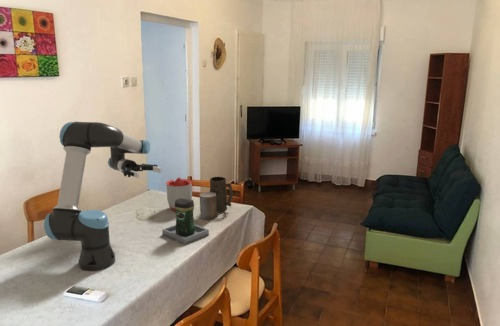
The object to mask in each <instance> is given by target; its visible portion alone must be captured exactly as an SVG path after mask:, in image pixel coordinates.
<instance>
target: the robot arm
mask: <svg viewBox="0 0 500 326" xmlns="http://www.w3.org/2000/svg"><path fill="white" fill-rule="evenodd" d="M59 142H60V144H61V146H63V147H62V149H63V150H64V151H65V158H64V163H63V164H64V165H63V170H62V175H61V182H60V188H59V194H58V199H57V204H56V205H55V206H54V207H53V208H52V212H49V213H48V214H47V215H46V216H45V219H44V221H43V222H44V223H43V228H44V233H45V234H46V236H47V237H48V238H49V239H51V240H57V241H71V242H72V241H73V242H74V241H75V242H81V245H80V246H81V250H80V254H79V258H78V266H79V268H80V269H81V270H84V271H88V272H89V271H92V272H93V271H100V270H104V269H107V268H108V267H110V266H112V265H113V264H114V263H115V262H116V255H115V252H114V250H113V248H112V246H111V244H110V243H111V240H110V230H109V229H110V227H109V218H108V215H107V213H105V212H104V211H102V210H98V209H90V210H89V209H86V210H81V208H80V207H79V204H80V198H81V193H82V192H81V191H82V186H83V180H84V174H85V167H86V159H87V155H89V154H90V153H91V151H92V148H110V157H109V158H108V161H107V164H108V165H107V166H109V168H110V169H113V170H115V171H118V172H121V173H122V174H123V176H124V177H127V178H131V177H134V178H137V179H140V172H144V171H153V172H154V173H158V174H162V168H161V167H159V166H158V164H155V163H153V164H148V163H141V164H139V163H138V164H137V162H136V161H135V160H131V159H127V158H125V157H126V154H137V155H138V154H139V155H140V154H141V155H145V154H146V155H147V154H149V153H150V150H151V143H150V141H149V140H144V139H142V140H141V139H138V138H135V137H133V136H131V135H128V134H126V133H124V132H123V131H122V130H121V129H119V128H118V127H114V126H113V125H109V124H107V123H103V122H98V121H96V122H95V121H94V122H93V121H70V122H69V121H68V122H66V123H65V124H63V126H62V127H61V129H60V132H59Z"/></svg>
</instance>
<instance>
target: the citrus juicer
mask: <svg viewBox="0 0 500 326" xmlns="http://www.w3.org/2000/svg"><path fill="white" fill-rule="evenodd" d="M192 183H193V182H192V180H190V179H186V178H181V177H177V178H176V179H175V180H174V179H170V180H169V181H166V182H165V184H166V197H167V198H166V200H167V203H168V207H169V208H170V211H173V212H176V210H175V201H176V200H177V199H179V198H182V199H189V200H193V189H192V187H193V186H192V185H193V184H192Z"/></svg>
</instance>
